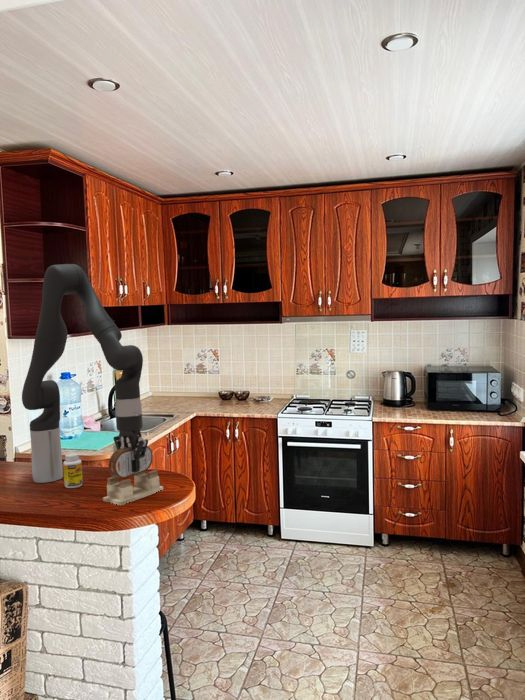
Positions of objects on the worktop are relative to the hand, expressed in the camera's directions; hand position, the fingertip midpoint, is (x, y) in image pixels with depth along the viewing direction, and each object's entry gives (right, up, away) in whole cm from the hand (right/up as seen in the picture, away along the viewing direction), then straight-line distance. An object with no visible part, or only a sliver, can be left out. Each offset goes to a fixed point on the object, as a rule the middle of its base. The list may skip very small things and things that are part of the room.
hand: (132, 470), depth 157 cm
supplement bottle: (-22, -8, +13) cm, 26 cm away
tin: (0, -1, 0) cm, 1 cm away
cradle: (0, -7, +1) cm, 7 cm away
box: (-8, -7, +22) cm, 25 cm away
